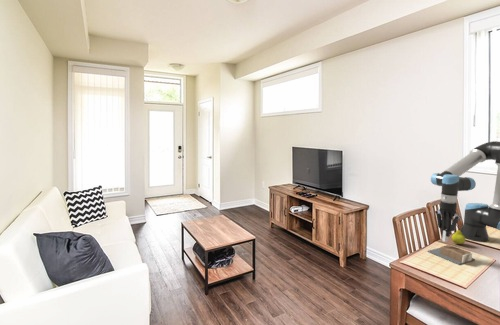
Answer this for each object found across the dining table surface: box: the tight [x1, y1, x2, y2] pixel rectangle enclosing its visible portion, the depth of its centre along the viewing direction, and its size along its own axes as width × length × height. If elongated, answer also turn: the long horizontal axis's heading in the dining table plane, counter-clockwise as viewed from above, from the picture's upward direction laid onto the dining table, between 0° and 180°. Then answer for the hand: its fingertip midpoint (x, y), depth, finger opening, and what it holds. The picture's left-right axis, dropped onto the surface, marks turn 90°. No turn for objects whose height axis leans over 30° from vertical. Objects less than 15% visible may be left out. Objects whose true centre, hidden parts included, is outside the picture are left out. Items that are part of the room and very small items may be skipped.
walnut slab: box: [439, 244, 473, 264], centre depth 153 cm, size 8×4×12 cm
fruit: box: [451, 224, 467, 245], centre depth 171 cm, size 7×7×12 cm
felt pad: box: [427, 247, 475, 266], centre depth 155 cm, size 14×17×1 cm
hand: (444, 241), depth 158 cm, fingers closed
